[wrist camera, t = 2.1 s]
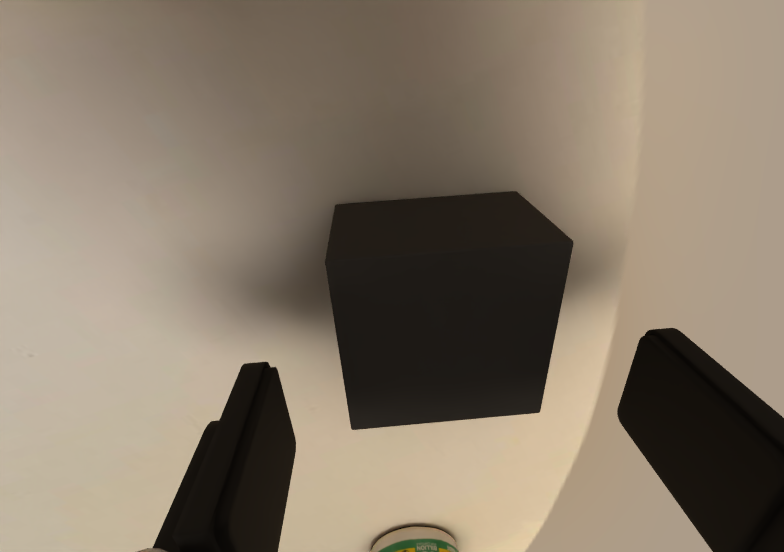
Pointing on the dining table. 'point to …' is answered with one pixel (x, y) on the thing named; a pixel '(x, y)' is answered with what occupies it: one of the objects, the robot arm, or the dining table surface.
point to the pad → (445, 306)
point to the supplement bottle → (416, 541)
